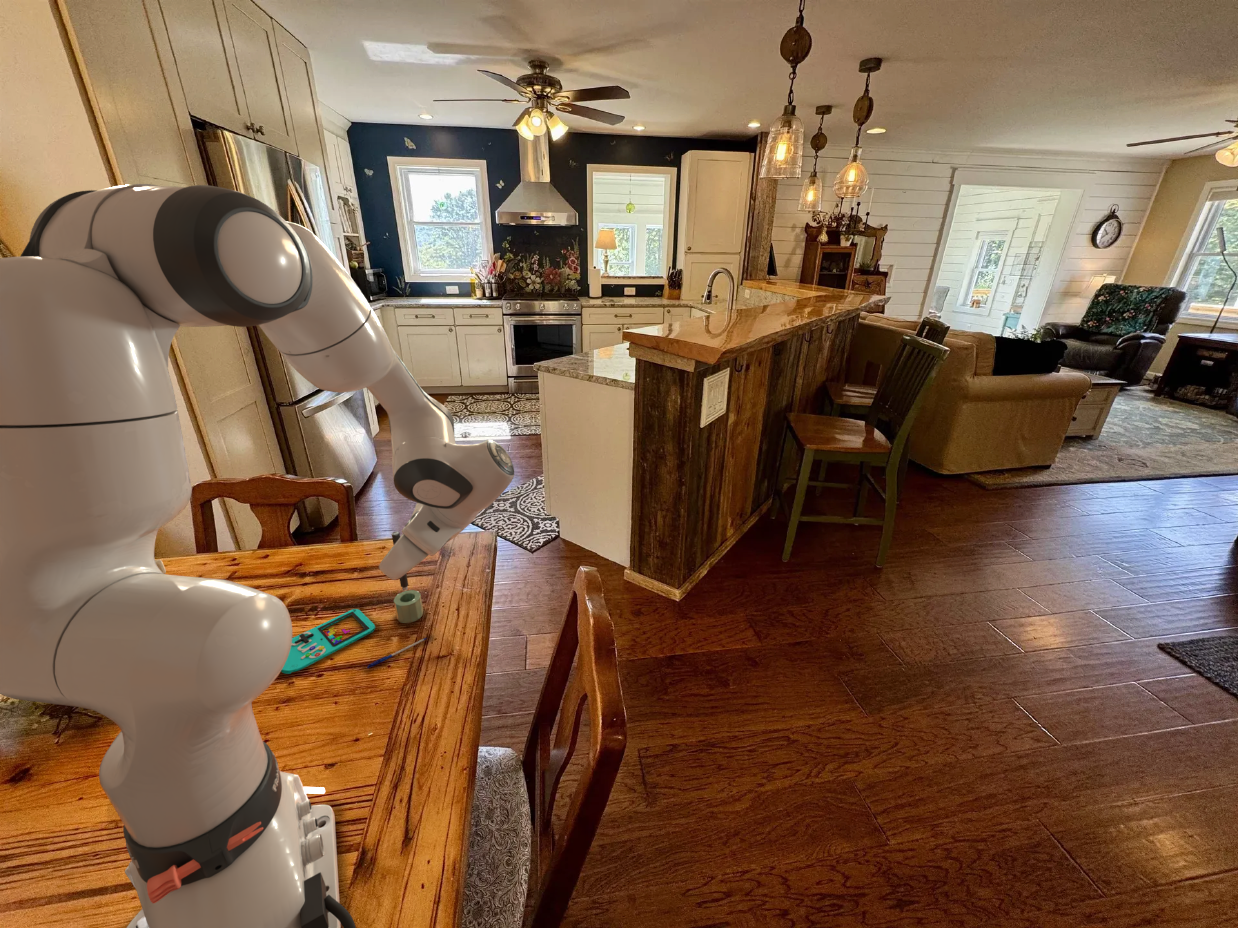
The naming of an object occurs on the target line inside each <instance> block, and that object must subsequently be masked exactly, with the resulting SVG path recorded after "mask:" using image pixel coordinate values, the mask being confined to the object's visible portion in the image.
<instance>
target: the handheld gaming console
mask: <svg viewBox="0 0 1238 928" xmlns="http://www.w3.org/2000/svg"><path fill="white" fill-rule="evenodd" d="M350 616H352V617H353V618H354V619H355V621H357V623H359V624H360V625H361V626H362V627H363V629H361V630H360V631H357V632H356V633H354V634H352V635H350V636H348V637H346V638H344V639H342V638H343V636H342V635H339V636H337V637H336V636H335V634H336V632H337V631H338V630H337V629H335V628H336V627H334V626H333V625H334V624H337V623H339V622H340V621H342V620H344V619H346V618H349V617H350ZM330 626H332V627H330ZM329 627H330V628H329ZM326 628H329V629H328V631H326V630H324V629H326ZM375 630H376V625H375V623H373V621H372V620H371V619H370V618H369V617H367V615H365V614H364V613H363V611H362V610H360V609H358V608H353V609H350V610H348V611H346V612H344V613H342V614H340V615H338V616H334V618H330V620H327V621H325V622H323V623H321V624H318V625H317V626H315V627H312V628H310V629H309V630H306V631H304V632H301V633H300V634H298V635H295V636H294V637H292V644H291V648H290V652H289V655H288V658H287V660H286V662H285V665H284V666H283V668H282V670H281V672H280V673H282V674H284V675H285V674H286V675H291V674H292V673H295V672H299V671H301V670H303V669H305V668H307V667H309V666H311V665H313V664H315V663H316V662H319V661H320V660H322V659H324V658H325V657H327V656H330V655H332V654H333V653H335V652H337V651H339V650H341V649H343V648H345V647H347V646H349V645H350V644H352V643H355V642H357V641H358V640H360V639H362V638H364V637H366V636H368V635H370V634H372V633H373V632H374V631H375ZM341 631H342V633H343V634H345V635H346V634H348V633H350V632H351V630H350V629H348V630H346V629H345V628H343V629H341Z"/></svg>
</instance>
